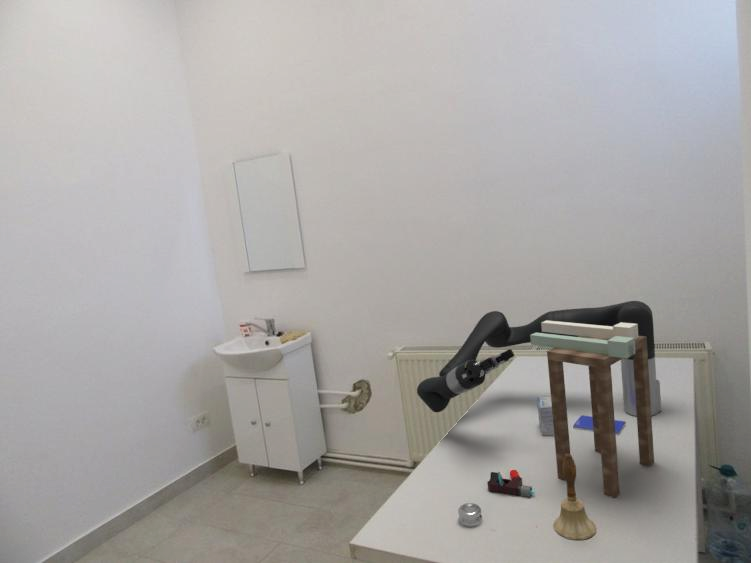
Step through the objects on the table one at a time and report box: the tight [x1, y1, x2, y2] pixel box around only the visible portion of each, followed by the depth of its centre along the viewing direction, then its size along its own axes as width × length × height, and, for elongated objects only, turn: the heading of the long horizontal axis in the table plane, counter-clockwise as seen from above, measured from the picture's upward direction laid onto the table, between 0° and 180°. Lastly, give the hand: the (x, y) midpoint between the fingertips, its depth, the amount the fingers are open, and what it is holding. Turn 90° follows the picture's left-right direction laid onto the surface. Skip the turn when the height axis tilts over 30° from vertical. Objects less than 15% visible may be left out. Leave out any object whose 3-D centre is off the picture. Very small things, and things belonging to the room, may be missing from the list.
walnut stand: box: [546, 336, 655, 499], centre depth 127 cm, size 14×20×32 cm
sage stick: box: [530, 333, 635, 359], centre depth 122 cm, size 24×4×4 cm, turn 40°
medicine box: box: [536, 396, 554, 436], centre depth 154 cm, size 8×4×9 cm, turn 168°
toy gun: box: [486, 469, 536, 498], centre depth 127 cm, size 10×12×5 cm
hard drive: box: [572, 414, 627, 437], centre depth 153 cm, size 2×8×12 cm
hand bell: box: [552, 453, 597, 541], centre depth 108 cm, size 8×8×16 cm
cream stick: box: [541, 320, 638, 340], centre depth 133 cm, size 24×4×4 cm, turn 39°
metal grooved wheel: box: [457, 502, 483, 528], centre depth 116 cm, size 5×3×5 cm
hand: (502, 356), depth 140 cm, fingers open, 8 cm apart
